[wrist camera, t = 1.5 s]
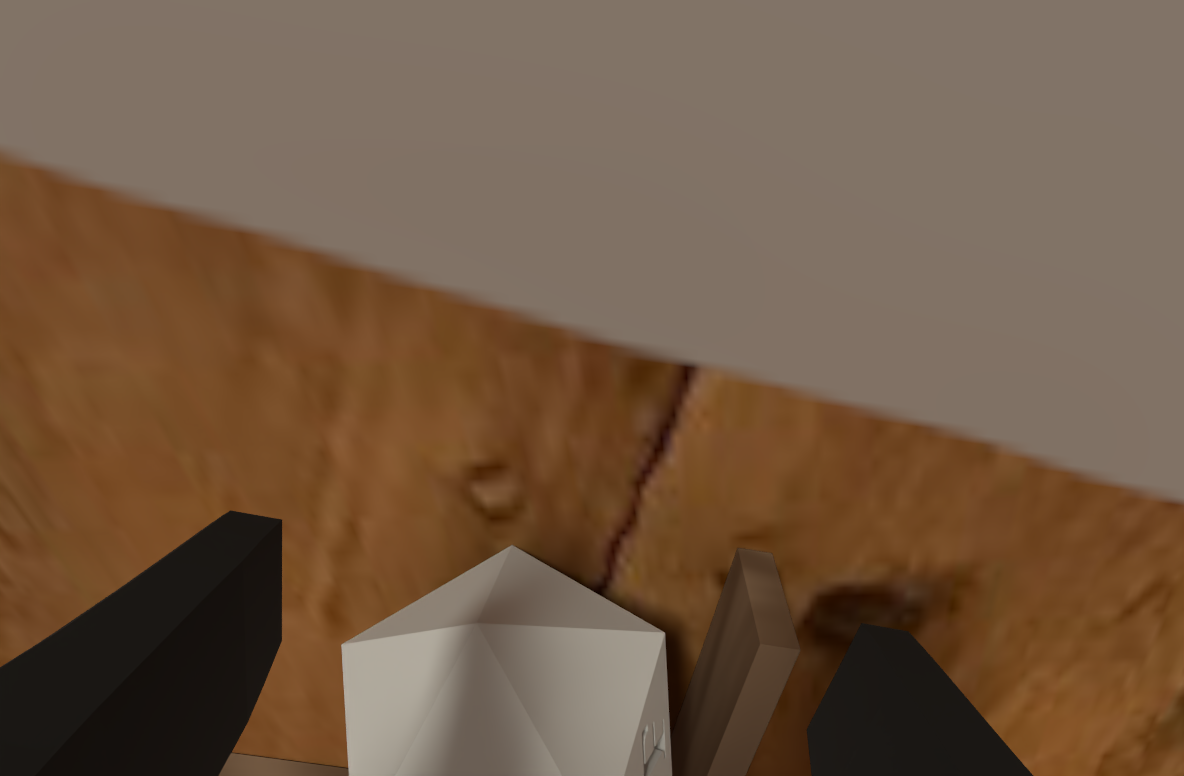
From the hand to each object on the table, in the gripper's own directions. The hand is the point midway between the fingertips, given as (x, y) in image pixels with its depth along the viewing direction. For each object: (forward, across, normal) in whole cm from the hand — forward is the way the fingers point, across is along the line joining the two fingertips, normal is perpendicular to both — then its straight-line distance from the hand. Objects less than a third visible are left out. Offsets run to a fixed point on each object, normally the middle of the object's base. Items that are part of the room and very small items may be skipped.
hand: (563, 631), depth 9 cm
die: (+10, 0, +10) cm, 14 cm away
